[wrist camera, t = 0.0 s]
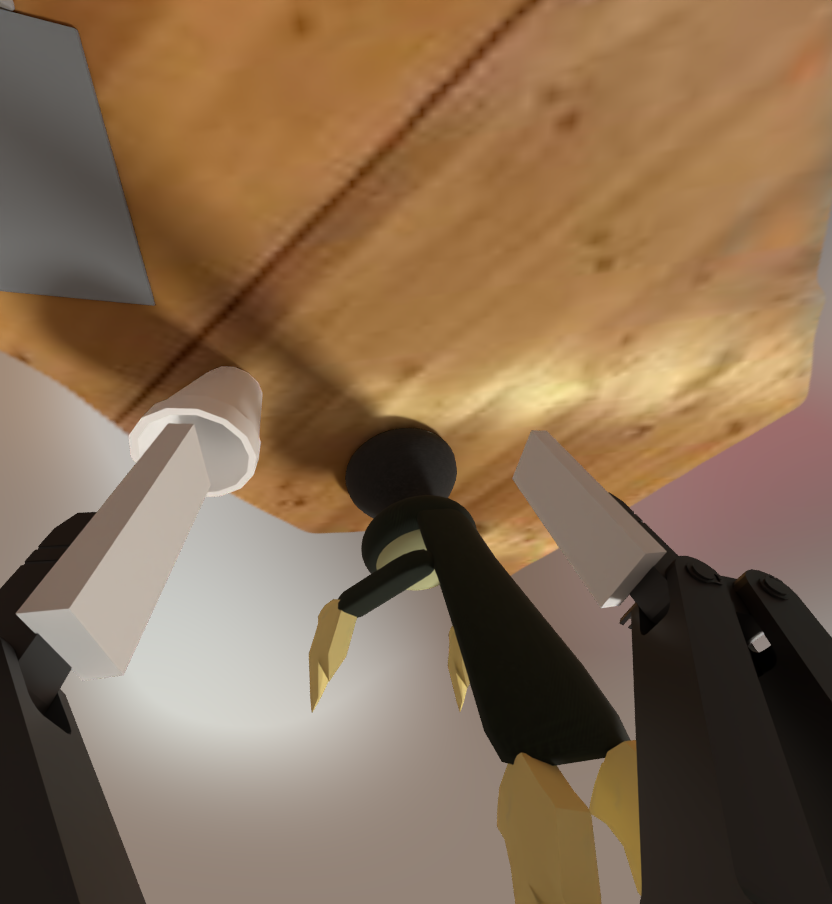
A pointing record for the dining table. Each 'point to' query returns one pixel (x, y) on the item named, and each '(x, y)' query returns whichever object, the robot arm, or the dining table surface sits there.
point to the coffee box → (7, 4)
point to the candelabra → (491, 668)
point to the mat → (59, 174)
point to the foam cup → (212, 425)
